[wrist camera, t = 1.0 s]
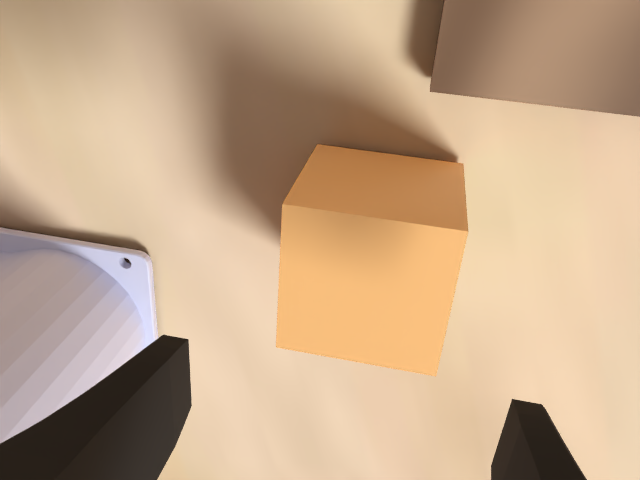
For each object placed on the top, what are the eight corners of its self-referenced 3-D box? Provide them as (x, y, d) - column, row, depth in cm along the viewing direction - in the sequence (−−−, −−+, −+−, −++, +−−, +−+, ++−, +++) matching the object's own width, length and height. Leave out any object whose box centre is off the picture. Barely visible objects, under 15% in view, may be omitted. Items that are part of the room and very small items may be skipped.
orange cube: (308, 266, 23) (276, 347, 18) (317, 144, 20) (282, 203, 16) (437, 287, 22) (436, 376, 18) (463, 163, 19) (468, 231, 15)
